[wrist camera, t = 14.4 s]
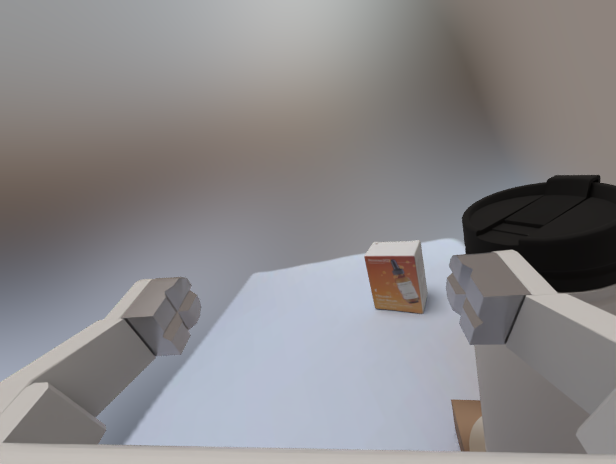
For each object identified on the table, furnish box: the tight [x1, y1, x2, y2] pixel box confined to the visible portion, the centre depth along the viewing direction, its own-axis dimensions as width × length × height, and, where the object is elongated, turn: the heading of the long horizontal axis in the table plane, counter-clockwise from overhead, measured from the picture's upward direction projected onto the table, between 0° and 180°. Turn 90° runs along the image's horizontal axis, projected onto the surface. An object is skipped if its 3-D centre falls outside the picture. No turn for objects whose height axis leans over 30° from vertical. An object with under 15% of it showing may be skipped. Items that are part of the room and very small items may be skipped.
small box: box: [364, 240, 428, 314], centre depth 44 cm, size 8×6×10 cm
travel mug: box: [462, 175, 616, 454], centre depth 15 cm, size 6×7×20 cm
